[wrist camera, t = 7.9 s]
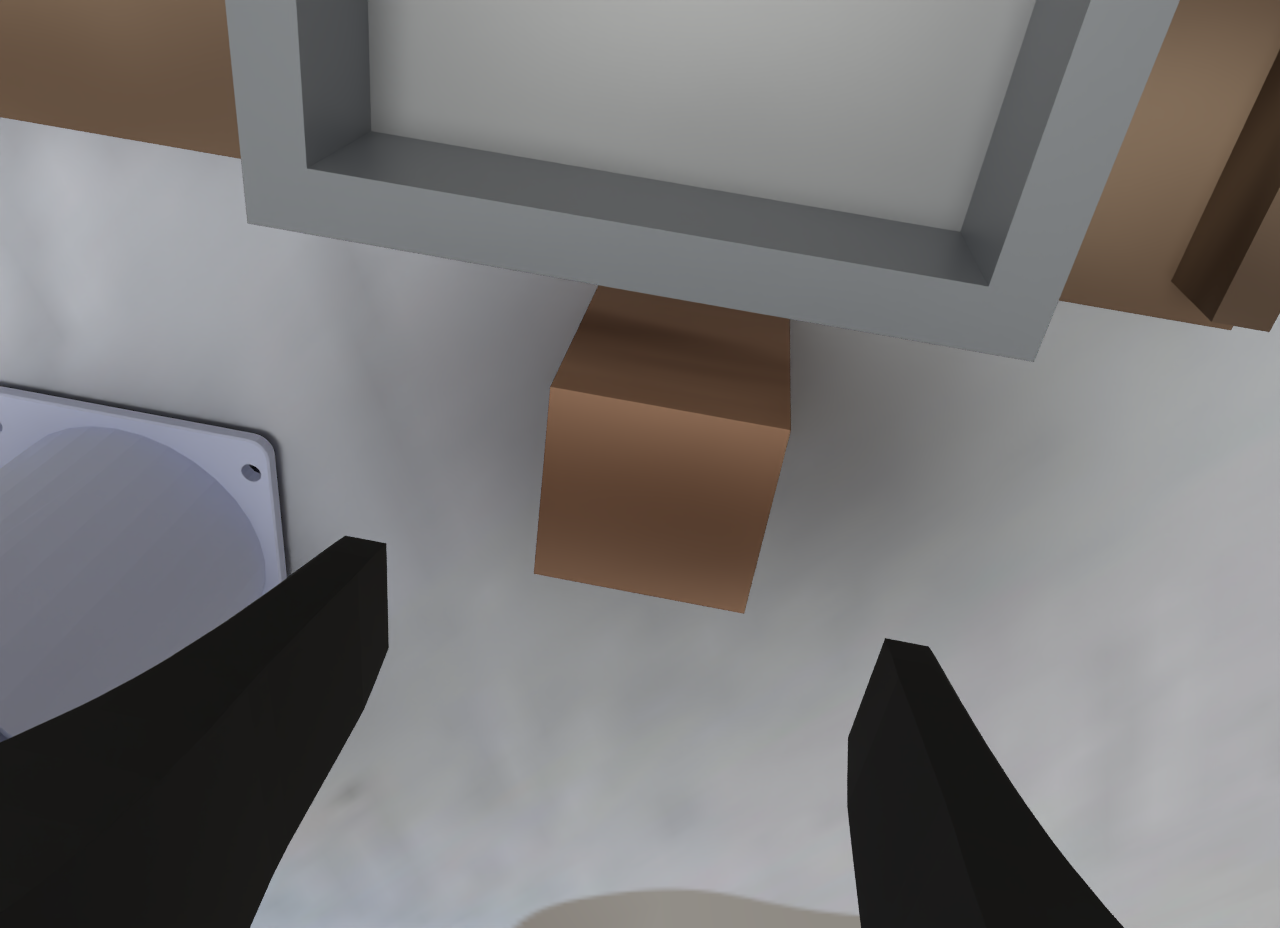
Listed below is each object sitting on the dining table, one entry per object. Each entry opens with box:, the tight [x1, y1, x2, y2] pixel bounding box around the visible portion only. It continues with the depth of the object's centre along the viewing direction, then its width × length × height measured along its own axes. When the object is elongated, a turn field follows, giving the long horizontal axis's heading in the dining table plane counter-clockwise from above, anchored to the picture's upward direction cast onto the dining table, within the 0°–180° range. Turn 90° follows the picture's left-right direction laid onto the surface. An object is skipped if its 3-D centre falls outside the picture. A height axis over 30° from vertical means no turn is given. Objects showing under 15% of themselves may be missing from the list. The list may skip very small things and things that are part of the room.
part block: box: [534, 285, 791, 613], centre depth 19 cm, size 4×4×6 cm
